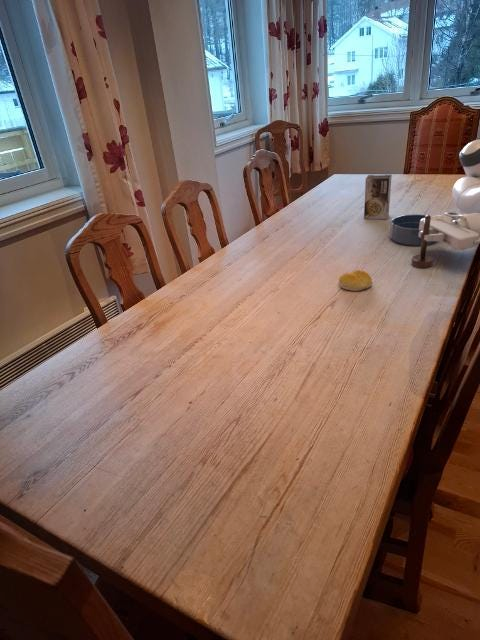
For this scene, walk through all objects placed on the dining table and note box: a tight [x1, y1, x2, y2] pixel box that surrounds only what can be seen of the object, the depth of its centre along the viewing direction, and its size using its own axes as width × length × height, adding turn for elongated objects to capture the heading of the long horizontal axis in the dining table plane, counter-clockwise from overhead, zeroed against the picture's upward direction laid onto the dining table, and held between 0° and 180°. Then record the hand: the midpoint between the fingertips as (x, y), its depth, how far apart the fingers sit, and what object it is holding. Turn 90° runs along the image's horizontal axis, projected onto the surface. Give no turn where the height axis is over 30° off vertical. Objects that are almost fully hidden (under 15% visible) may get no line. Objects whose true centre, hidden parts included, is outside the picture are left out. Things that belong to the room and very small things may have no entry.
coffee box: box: [363, 173, 393, 220], centre depth 170 cm, size 9×6×16 cm
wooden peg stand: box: [410, 214, 434, 269], centre depth 127 cm, size 6×6×15 cm
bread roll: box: [338, 269, 373, 292], centre depth 121 cm, size 8×9×4 cm
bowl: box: [389, 214, 436, 247], centre depth 148 cm, size 16×16×6 cm
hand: (422, 236), depth 126 cm, fingers closed on wooden peg stand
